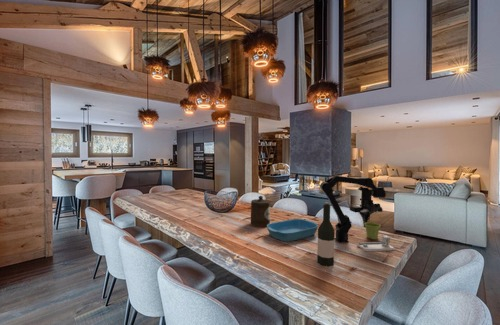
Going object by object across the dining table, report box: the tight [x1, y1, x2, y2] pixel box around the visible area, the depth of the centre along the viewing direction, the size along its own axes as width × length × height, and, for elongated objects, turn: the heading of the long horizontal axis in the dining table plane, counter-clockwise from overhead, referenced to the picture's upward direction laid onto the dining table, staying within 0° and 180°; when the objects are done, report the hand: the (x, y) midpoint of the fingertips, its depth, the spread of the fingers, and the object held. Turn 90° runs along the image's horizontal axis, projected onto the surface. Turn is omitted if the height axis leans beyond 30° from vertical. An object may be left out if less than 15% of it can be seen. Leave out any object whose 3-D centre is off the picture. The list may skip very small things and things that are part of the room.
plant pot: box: [364, 222, 381, 240], centre depth 154 cm, size 9×9×9 cm
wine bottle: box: [316, 202, 336, 268], centre depth 116 cm, size 8×8×30 cm
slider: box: [380, 235, 391, 246], centre depth 137 cm, size 3×4×5 cm
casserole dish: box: [266, 218, 319, 242], centre depth 157 cm, size 37×22×7 cm, turn 122°
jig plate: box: [356, 241, 396, 252], centre depth 137 cm, size 18×8×2 cm, turn 98°
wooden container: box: [250, 195, 271, 228], centre depth 180 cm, size 15×15×22 cm
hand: (365, 222), depth 146 cm, fingers closed
